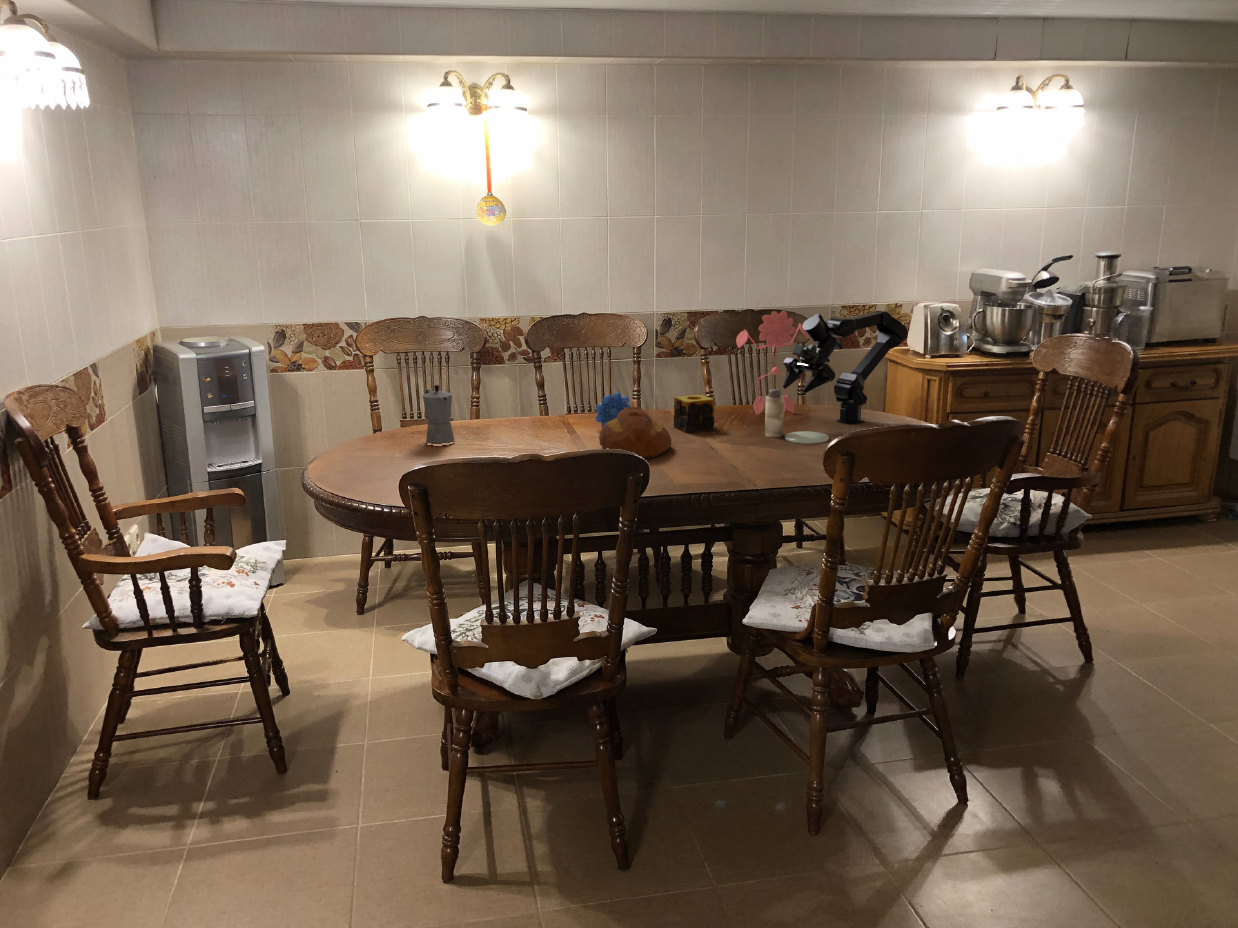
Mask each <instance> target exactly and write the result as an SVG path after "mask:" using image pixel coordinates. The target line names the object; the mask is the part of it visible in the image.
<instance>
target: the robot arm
mask: <svg viewBox="0 0 1238 928" xmlns="http://www.w3.org/2000/svg"><path fill="white" fill-rule="evenodd" d="M802 324H803V329H804V330H805V332H806V333H807V334H808V336H809V337H810V338H811V339H812V340H811V339H810V340H811V341H812V342H816V343H815V344H809V345H805V344H801V343H800V344H798V343H795V345H794V347H793V350H792V353H791V354H792V355H796V356H797V357H799V360H800V361H801V362H802V363H801V362H800V361H799V360H798V358H795V357H790V356H787V357H785V358H784V361H782V364H783V365H784V367H785V368H786V372H785V373H786V374H785V375H786V376H784V382H783V385H782V388H783V389H784V390H787V387H788V388H789V387H790V386H791V385H792V384H794V383H795V382H796V381H797V380H798V379H800V378H801V376H800V375H802V374H803V373H804V371H805V372H809V373H811V376H810V377H809V380H808V381H807V383H806V384H805V386H804V388H803V389H802V393H803V394H806V393H809V392H810V391H812V390H814V389H816V388H818V387H820V386H822V385H824V384H825V385H826V384H828V383H829V382H831V383H832V382H833V381H834V379H836V372H835V371H834V369H833V368H832V366H830V365H829V363H830V362H831V360H830V356H831V355H833V352H834V351H835V350H840V351H841V350H843V345H842V340H839V339H838V338H848V337H850V336H852V335H854V334H855V333H856V332H857V331H859V330H863V329H867V328H871V327H875V330H876V331H877V332H878V333H877V338H876V339H877V340H876V341H875V343H874V344H873V346H872V347H871V348H870V349H869V351H868V352H867V353H866V354H865V356H864V357H863V358H862V359H861V361H860V362H859V363H858V364H857V365H856V367H855V368H854V369H853V370H852V372H843V373H841V374H840V376H839V377H838V378H837V379H836V380H835V383H834V387H833V392H834V396H835V401H836V402H837V403H840V408H839V418H838V419H836V422H840V423H844V424H849V425H854V424H859V423H863V422H865V419H862V418H861V417H862V406H864V405H866V403H867V401H868V397H867V395H866V394H865V393H864V390H865V381H866V380H867V379H868V377H869V376H870V375H871V374H872V373H873V371H874V370H875V369H876V368H877V367H878V365H879V364H880V363H881V362H882V361H883V359H884V358H885V356H886V355H887V354H888V353H889V351H891V350H892V349H895V348H897V347H899V346H900V345H901V344H902V343H903V342H904V341H905V340H906V339H907V338H908V333H909V332H908V328H907V326H906V325H905V324H903V323H902V322H901V321H899V320H898V319H896V318H895V317H893V316H892V315H891V313H889V312H888V311H887V310H886V311H885V310H875V311H873V312H869V313H864V314H861V315H856V316H852V317H830V318H828V321H825V319H824V318H823V316H822V314H820V313H815V314H814V315H813V316H810V317H809V318H808V319H805V321H803V323H802ZM837 337H838V338H837Z"/></svg>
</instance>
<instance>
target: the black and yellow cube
mask: <svg viewBox="0 0 1238 928" xmlns="http://www.w3.org/2000/svg"><path fill="white" fill-rule="evenodd" d="M673 403H674V404H673V427H674V428H675V429H677V430H680V431H683V432H684V433H686V434H687V433H698V432H706V431H713V430H714V429H715V399H714V398H711V397H709V396H706V395H704V394H694V395H693V394H692V395H683V396H674V397H673Z"/></svg>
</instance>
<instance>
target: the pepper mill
mask: <svg viewBox="0 0 1238 928" xmlns="http://www.w3.org/2000/svg"><path fill="white" fill-rule="evenodd" d="M781 394H782V390H781V389H779V388H771V389H768V395H765V407H764V408H765V409H764V410H765V411H764V412H765V413H764V414H765V415H764V417H765V418H764V419H765V420H764V436H765V437H767V438H781V437H783V436H784V420H783V419H784V413H785V412H784V405H785V404H784V396H785V395H781Z"/></svg>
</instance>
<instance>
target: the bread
mask: <svg viewBox="0 0 1238 928" xmlns="http://www.w3.org/2000/svg"><path fill="white" fill-rule="evenodd" d="M598 440H599V441H598V442H599V445H600V446H601V448H603V449H604V448H609V449H622V450H626V451H630V452H634V453H636V454H638V455H639V456H642V457H643V458H645V459H644V460H647V459H652V458H655V457H657V456H659V455H662V454H663V453H665V452H666V451H667V450H669V449H670V447H671V446H672V439H671V436H670V433H669V431H668V430H667V428H666V427H665V426H664V425H663V424H662V423H660V422H658V421H655V420H653V419H652V418H651V416H650V414H649V413H648V412H646V411H645V410H644V409H643V408H642V407H637V406H633V405H632V406H631V407H628V408H625V409H623V410H622V411H620V412H619V414H618V415H617V418H615V419H612V420H610V421H608V422H607V423H606V424H604V425H603V428H602V427H601V430H600V432H599V437H598Z"/></svg>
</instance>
